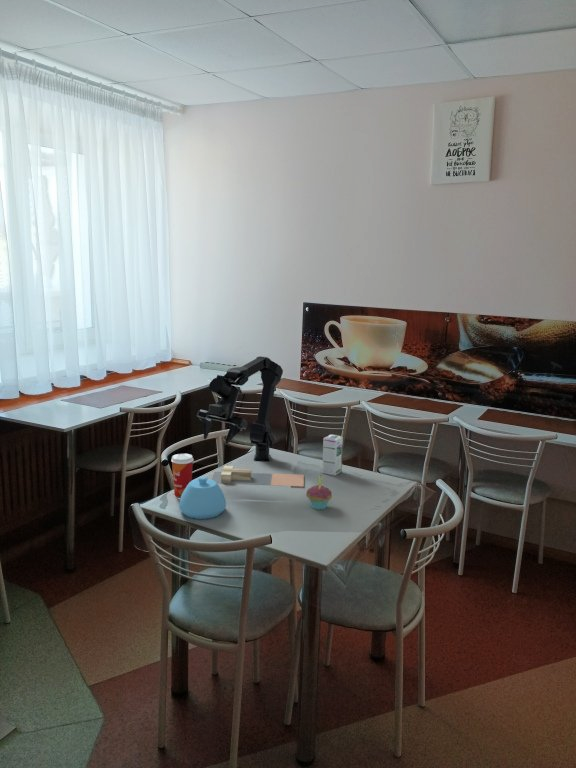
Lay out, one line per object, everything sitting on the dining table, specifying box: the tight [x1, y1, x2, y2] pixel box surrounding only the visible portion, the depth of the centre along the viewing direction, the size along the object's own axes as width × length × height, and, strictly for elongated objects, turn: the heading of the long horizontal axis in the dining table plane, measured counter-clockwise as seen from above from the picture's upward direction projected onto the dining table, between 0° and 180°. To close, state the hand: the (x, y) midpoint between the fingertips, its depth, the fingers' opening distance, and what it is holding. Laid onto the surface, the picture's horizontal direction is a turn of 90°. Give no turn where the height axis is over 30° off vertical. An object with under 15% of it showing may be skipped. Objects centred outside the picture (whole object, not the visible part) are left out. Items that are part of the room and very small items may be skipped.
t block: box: [221, 465, 252, 483], centre depth 234 cm, size 10×10×3 cm
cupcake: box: [306, 474, 333, 510], centre depth 210 cm, size 9×8×12 cm
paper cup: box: [170, 453, 195, 499], centre depth 216 cm, size 8×8×14 cm
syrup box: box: [322, 434, 344, 476], centre depth 243 cm, size 6×6×14 cm
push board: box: [211, 471, 305, 488], centre depth 234 cm, size 12×34×1 cm, turn 89°
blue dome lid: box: [178, 476, 227, 520], centre depth 204 cm, size 15×15×12 cm
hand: (215, 441), depth 229 cm, fingers open, 9 cm apart
